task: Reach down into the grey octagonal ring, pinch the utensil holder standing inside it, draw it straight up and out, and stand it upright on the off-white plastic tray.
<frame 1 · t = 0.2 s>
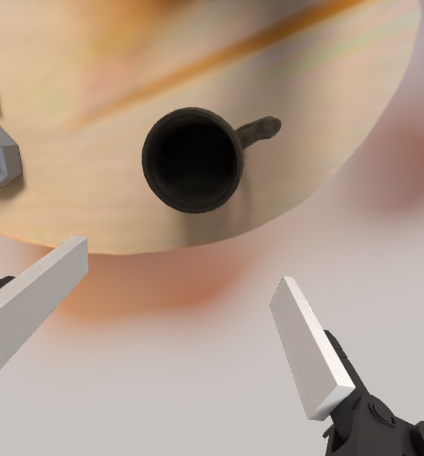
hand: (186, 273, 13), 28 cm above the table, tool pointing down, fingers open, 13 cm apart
beer stein: (212, 143, 36), on the table
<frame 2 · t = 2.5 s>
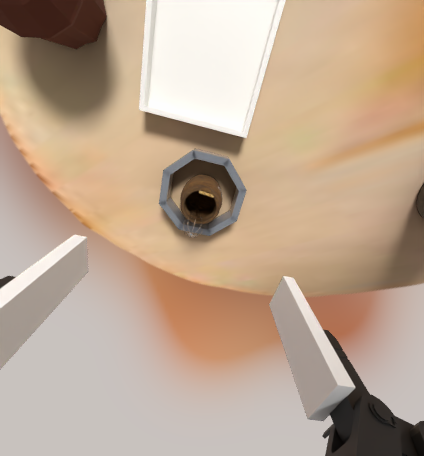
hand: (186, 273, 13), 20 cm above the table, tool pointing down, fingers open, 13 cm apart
utensil holder: (203, 191, 32), resting in grey octagonal ring
tray: (208, 53, 24), on the table
grey octagonal ring: (203, 191, 32), on the table
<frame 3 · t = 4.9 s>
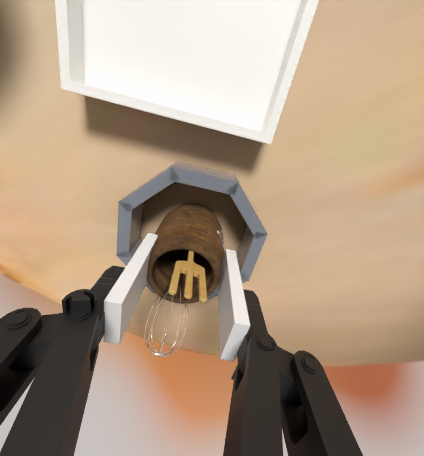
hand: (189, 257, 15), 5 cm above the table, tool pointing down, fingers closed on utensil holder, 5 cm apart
utensil holder: (192, 228, 20), resting in grey octagonal ring, touching gripper
grey octagonal ring: (193, 229, 20), on the table
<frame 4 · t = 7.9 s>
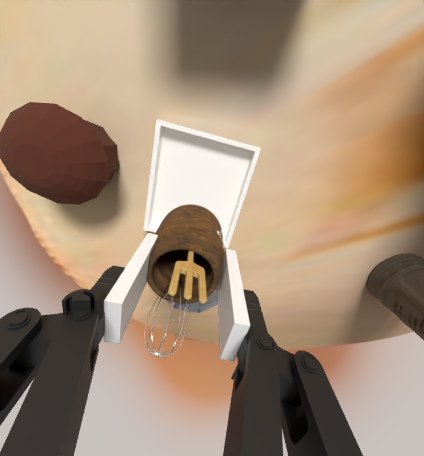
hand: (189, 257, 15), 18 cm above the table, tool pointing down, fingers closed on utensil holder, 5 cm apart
utensil holder: (192, 228, 20), point 13 cm above the table, touching gripper
tray: (198, 188, 31), on the table
muffin: (89, 153, 29), on the table
grey octagonal ring: (194, 276, 39), on the table
beer stein: (406, 270, 39), on the table
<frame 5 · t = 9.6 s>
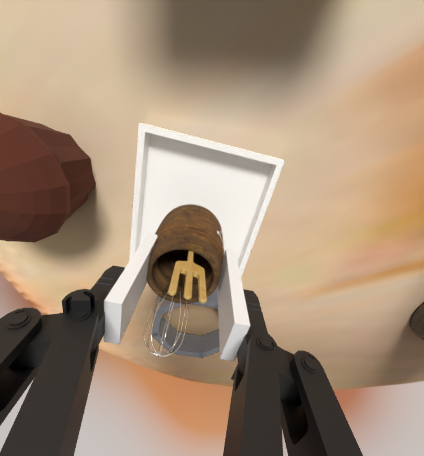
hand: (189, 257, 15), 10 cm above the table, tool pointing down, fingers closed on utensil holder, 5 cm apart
utensil holder: (192, 228, 20), point 5 cm above the table, touching gripper
tray: (198, 211, 24), on the table
muffin: (55, 169, 22), on the table
grey octagonal ring: (195, 313, 32), on the table
when the fingers open (7 cm above the table, at t = 10.9 s): utensil holder drops 1 cm, resting on tray.
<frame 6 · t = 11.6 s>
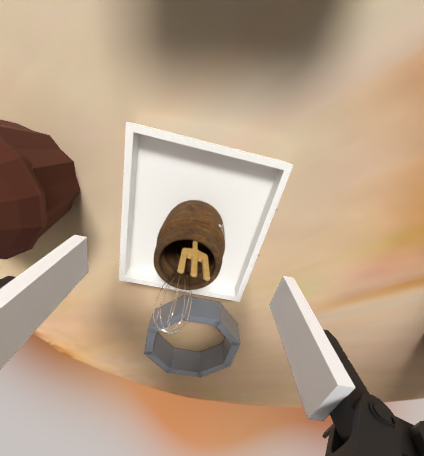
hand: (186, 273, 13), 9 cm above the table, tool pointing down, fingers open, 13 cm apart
utensil holder: (195, 223, 21), point 1 cm above the table, touching tray
tray: (196, 220, 22), on the table
muffin: (34, 173, 20), on the table
grey octagonal ring: (193, 328, 29), on the table
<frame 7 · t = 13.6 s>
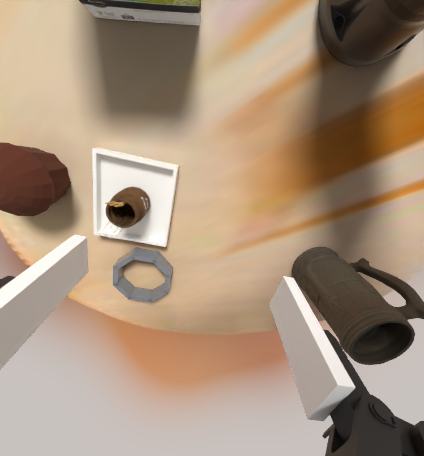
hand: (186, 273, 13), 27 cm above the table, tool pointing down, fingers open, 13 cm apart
utensil holder: (136, 200, 38), point 1 cm above the table, touching tray
tray: (137, 199, 39), on the table
muffin: (45, 174, 37), on the table
grey octagonal ring: (145, 271, 46), on the table
beer stein: (324, 260, 46), on the table
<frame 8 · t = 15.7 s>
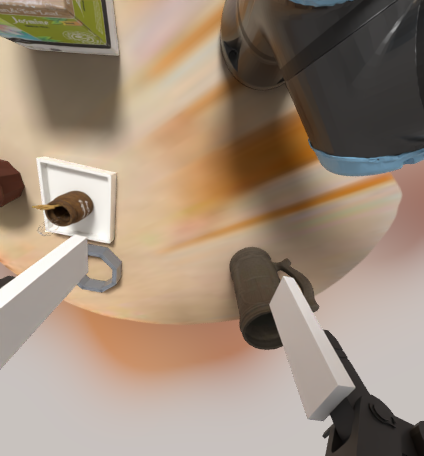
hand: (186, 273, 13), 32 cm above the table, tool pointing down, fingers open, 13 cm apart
utensil holder: (81, 202, 44), point 1 cm above the table, touching tray
tray: (83, 201, 44), on the table
muffin: (2, 178, 42), on the table
grey octagonal ring: (97, 265, 52), on the table
beer stein: (258, 259, 51), on the table
tea box: (70, 16, 32), on the table
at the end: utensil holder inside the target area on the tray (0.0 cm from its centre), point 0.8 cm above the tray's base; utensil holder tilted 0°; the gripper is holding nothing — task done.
